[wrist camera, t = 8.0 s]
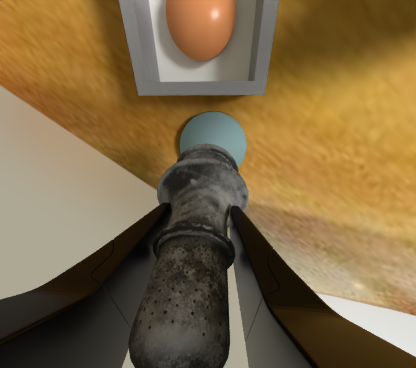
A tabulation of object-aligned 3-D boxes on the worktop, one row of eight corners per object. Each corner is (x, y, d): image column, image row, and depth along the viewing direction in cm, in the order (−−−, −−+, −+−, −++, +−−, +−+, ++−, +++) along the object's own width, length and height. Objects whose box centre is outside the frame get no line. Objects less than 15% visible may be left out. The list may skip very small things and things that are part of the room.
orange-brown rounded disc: (237, -32, 12) (239, -43, 11) (232, 60, 15) (233, 58, 14) (165, -28, 12) (160, -39, 11) (173, 61, 15) (170, 60, 14)
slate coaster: (249, 111, 18) (250, 112, 18) (242, 175, 23) (242, 178, 22) (177, 111, 19) (176, 111, 18) (183, 174, 23) (182, 176, 22)
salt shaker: (228, 209, 15) (246, 470, 5) (167, 193, 15) (40, 445, 4) (254, 152, 12) (452, 530, 2) (177, 129, 11) (-169, 473, 1)
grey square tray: (277, -82, 12) (305, -165, 8) (254, 93, 17) (264, 94, 13) (130, -71, 12) (89, -143, 8) (155, 93, 18) (138, 95, 14)
